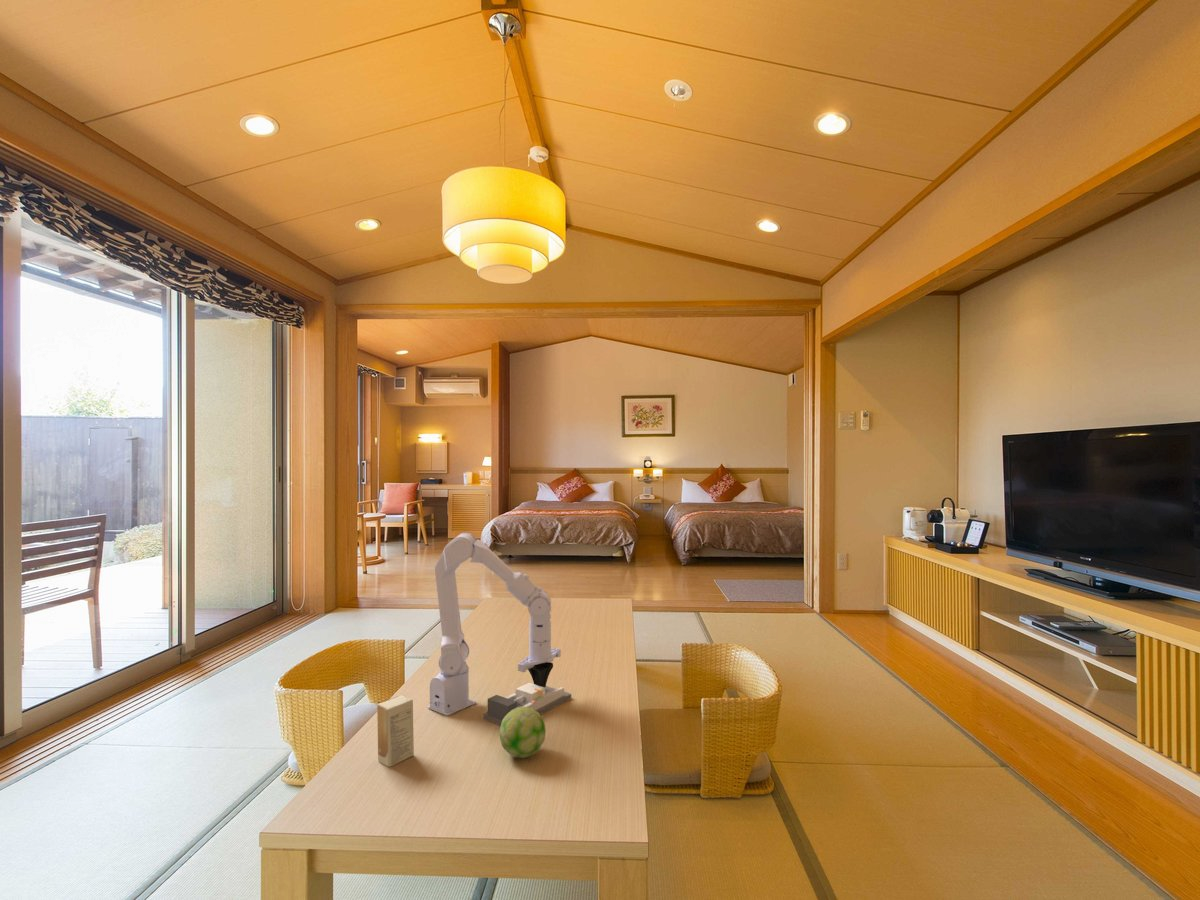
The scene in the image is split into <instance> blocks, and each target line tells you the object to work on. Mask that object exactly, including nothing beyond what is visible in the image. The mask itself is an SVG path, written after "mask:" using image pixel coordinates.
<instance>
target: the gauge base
mask: <svg viewBox="0 0 1200 900" xmlns="http://www.w3.org/2000/svg"><path fill="white" fill-rule="evenodd" d="M570 698H571V699H572V693H571V692H570V693H569V692H567V691H565V687H562V686H560V687H558V688H554V687H551V686H547V685H546V687H545V695H544V696H542V697H541V696H540V697H538V698H536V699H535V700H532V701H530V703H528V704H526V705H524V706H523V705H520V704H519V705H517V702H516V701H514V699H516V691H515V692H513V693H512V694H510V695H506V697H504V696H501V695H498V694H495V695H493V696H490V697H489V698H487V711H486V712H484V713H482V715H483V716H482V717H483V720H485V721H489V722H491V723H493V724H495V725H499V726H501V723H502V720H503V719H504V717H505V716H506V715H507V714H508V713H509V712H510V711H511V710H513V709H515V708H518V707H529V708H533V709H534V710H535V711H537V712H538V713H539V714H540V715H541V716H542V715H543V714H545V713H547V712H549V711H551V710H552V709H554V708H556V707H558V706H560V705H561V703H562V704H563V702H564V703H565V702H568V701H569V700H571V699H570ZM559 704H560V705H559ZM557 705H558V706H557ZM555 706H556V707H555ZM550 709H551V710H550ZM548 710H549V711H548ZM546 711H547V712H546ZM544 712H545V713H544ZM542 713H543V714H542Z"/></svg>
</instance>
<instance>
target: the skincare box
mask: <svg viewBox="0 0 1200 900" xmlns="http://www.w3.org/2000/svg"><path fill="white" fill-rule="evenodd" d="M413 701H414V699H413V698H410V697H409V696H407V695H406V696H405V695H403V694H401V695H398V696H395V697H393V698H391V699H387V700H385V701H382V702H380V703H379V702H378V703H377V705H376V706H377V707H376V708H377V710H376V711H377V712H376V713H377V714H376V715H377V762H379V763H381V764H382V765H384V766H385V767H387V768H389V767H393V766H394V765H398V764H399V763H400V762H403V761H405V760H406V759H409V758H411V757H413V756H414V755H415V748H414V747H415V746H414V744H415V743H414V742H415V741H414V702H413Z"/></svg>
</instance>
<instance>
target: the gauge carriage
mask: <svg viewBox="0 0 1200 900" xmlns="http://www.w3.org/2000/svg"><path fill="white" fill-rule="evenodd" d="M515 692H516V699H514V701H516V702H517V705H519V704H520V705H523V706H524V705H526V704H528V703H530V701H532V700H535V699H536V698H538V697H540V696H541V697H542V696H544V695H545V687H542V686H538V685H535V684H534V683H531V682H527V683H525V684H524V685H521V686H519V687H516V688H515Z"/></svg>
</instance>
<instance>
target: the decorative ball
mask: <svg viewBox="0 0 1200 900" xmlns="http://www.w3.org/2000/svg"><path fill="white" fill-rule="evenodd" d="M499 727H500V728H499V740H500V744H501V746H502V747H503V749H504V750H505V751H506V752H507V753H508V754H509V755H510V756H511V757H514V758H518V759H521V758H523V759H524V758H525V759H526V758H529V757H531V756H533V755H535V754H536V753H537V752H538V751H539V750H540V748H541V747H542V746H543V744H544V742H545V739H546V723H545V721H544V719H543V717H542V714H541V715H540V714H539V713H538V712H537V711H535V710H534V709H533V708H529V707H518V708H515V709H513V710H511V711H510V712H509V713H508V714H507V715H506V716H505V717H504V719H503V720H502V723H501V725H500V726H499Z"/></svg>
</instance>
